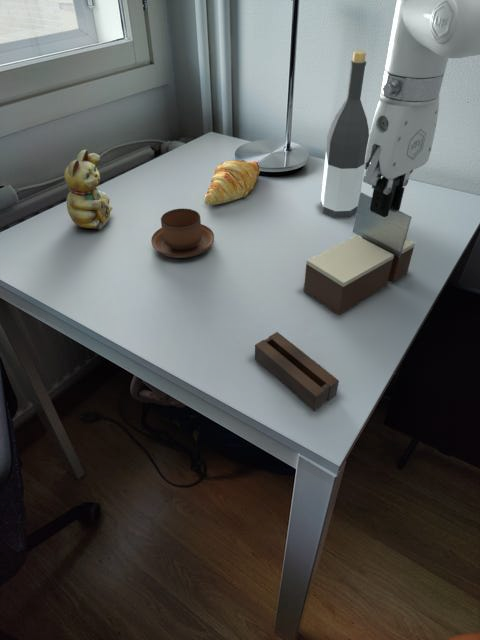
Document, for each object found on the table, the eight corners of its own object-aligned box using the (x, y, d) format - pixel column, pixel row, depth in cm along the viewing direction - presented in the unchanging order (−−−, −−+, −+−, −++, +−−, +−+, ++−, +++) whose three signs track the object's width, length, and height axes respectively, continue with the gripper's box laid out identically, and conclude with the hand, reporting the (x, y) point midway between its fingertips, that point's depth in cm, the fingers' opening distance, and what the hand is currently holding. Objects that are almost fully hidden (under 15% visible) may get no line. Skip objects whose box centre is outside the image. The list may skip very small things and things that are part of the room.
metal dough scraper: (403, 255, 76) (423, 187, 68) (395, 259, 75) (415, 191, 67) (356, 229, 82) (370, 164, 73) (349, 233, 81) (361, 168, 72)
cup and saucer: (153, 232, 94) (149, 204, 90) (212, 228, 95) (211, 200, 90) (151, 266, 85) (146, 236, 81) (216, 261, 86) (214, 232, 82)
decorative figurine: (102, 236, 93) (85, 163, 83) (63, 234, 94) (41, 162, 84) (118, 212, 100) (103, 143, 90) (81, 211, 101) (63, 142, 91)
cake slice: (406, 273, 82) (415, 242, 77) (392, 282, 80) (400, 251, 76) (371, 254, 86) (377, 224, 82) (357, 262, 85) (362, 231, 80)
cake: (386, 286, 79) (394, 254, 75) (338, 315, 74) (343, 283, 69) (351, 265, 84) (356, 234, 80) (303, 291, 78) (306, 259, 74)
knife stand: (336, 395, 62) (339, 380, 60) (313, 411, 60) (316, 396, 58) (276, 346, 69) (277, 331, 67) (254, 359, 67) (254, 344, 65)
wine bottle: (353, 221, 96) (380, 58, 76) (315, 214, 98) (332, 55, 78) (360, 203, 102) (386, 48, 82) (324, 198, 104) (341, 45, 84)
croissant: (219, 226, 102) (232, 200, 96) (184, 197, 102) (195, 170, 96) (265, 186, 115) (279, 162, 109) (234, 161, 115) (247, 135, 109)
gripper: (396, 105, 56) (370, 237, 68) (469, 81, 63) (434, 204, 75) (349, 91, 60) (332, 217, 72) (422, 70, 67) (396, 188, 80)
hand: (384, 210), depth 74 cm, fingers closed on metal dough scraper, 2 cm apart
